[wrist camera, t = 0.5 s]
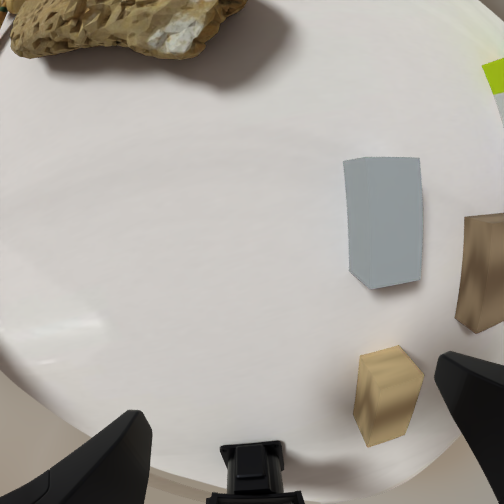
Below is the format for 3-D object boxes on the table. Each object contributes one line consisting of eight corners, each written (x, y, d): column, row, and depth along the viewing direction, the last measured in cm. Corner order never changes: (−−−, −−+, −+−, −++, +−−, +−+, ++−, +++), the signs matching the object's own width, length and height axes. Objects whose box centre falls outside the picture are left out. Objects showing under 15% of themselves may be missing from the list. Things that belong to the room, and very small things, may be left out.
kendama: (0, 85, 16) (80, -49, 10) (-42, 82, 10) (47, -68, 4) (-15, 78, 16) (51, -40, 10) (-50, 76, 10) (22, -53, 4)
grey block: (393, 263, 20) (420, 279, 16) (348, 270, 20) (369, 289, 16) (390, 160, 18) (419, 157, 14) (342, 161, 18) (365, 156, 14)
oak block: (386, 403, 24) (404, 434, 19) (352, 413, 24) (367, 447, 19) (398, 344, 22) (424, 375, 17) (359, 354, 22) (381, 389, 17)
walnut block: (497, 299, 22) (519, 312, 18) (452, 316, 22) (476, 334, 18) (506, 212, 19) (532, 218, 16) (462, 216, 20) (491, 223, 16)
